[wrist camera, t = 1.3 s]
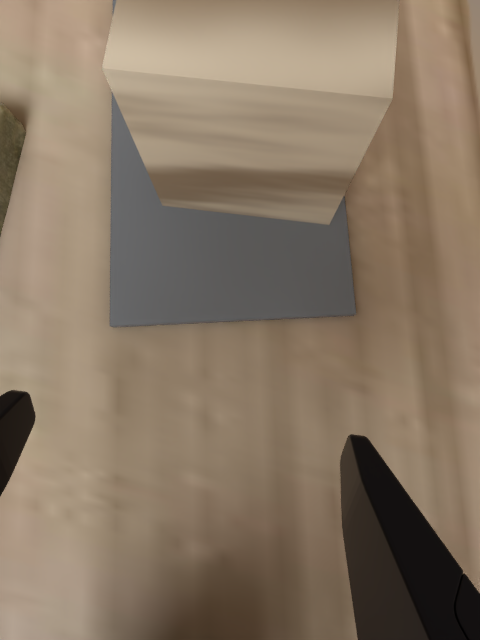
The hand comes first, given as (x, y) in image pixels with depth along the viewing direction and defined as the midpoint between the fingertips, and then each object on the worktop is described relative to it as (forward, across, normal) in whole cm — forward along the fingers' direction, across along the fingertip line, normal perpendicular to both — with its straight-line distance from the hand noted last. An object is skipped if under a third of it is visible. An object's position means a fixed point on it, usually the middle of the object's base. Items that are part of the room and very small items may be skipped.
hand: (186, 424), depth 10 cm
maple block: (+18, 0, -1) cm, 18 cm away
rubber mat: (+20, +2, -2) cm, 21 cm away
